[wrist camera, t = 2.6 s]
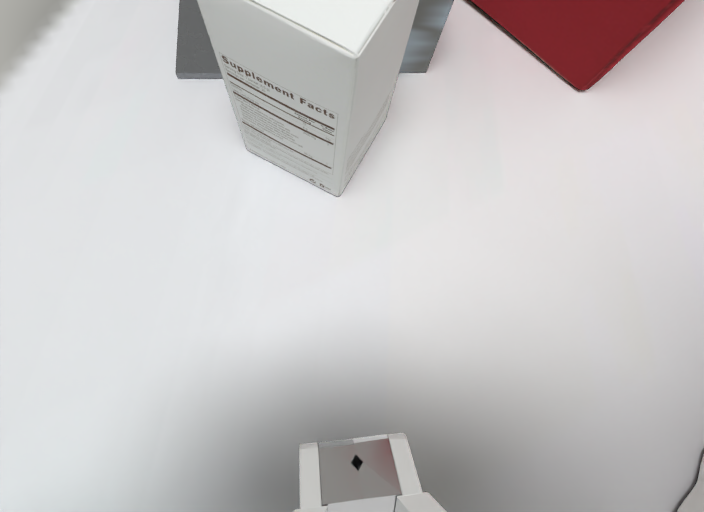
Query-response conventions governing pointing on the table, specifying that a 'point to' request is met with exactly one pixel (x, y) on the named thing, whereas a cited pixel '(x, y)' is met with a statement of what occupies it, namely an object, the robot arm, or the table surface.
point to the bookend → (194, 45)
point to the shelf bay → (425, 34)
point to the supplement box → (310, 77)
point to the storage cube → (579, 31)
